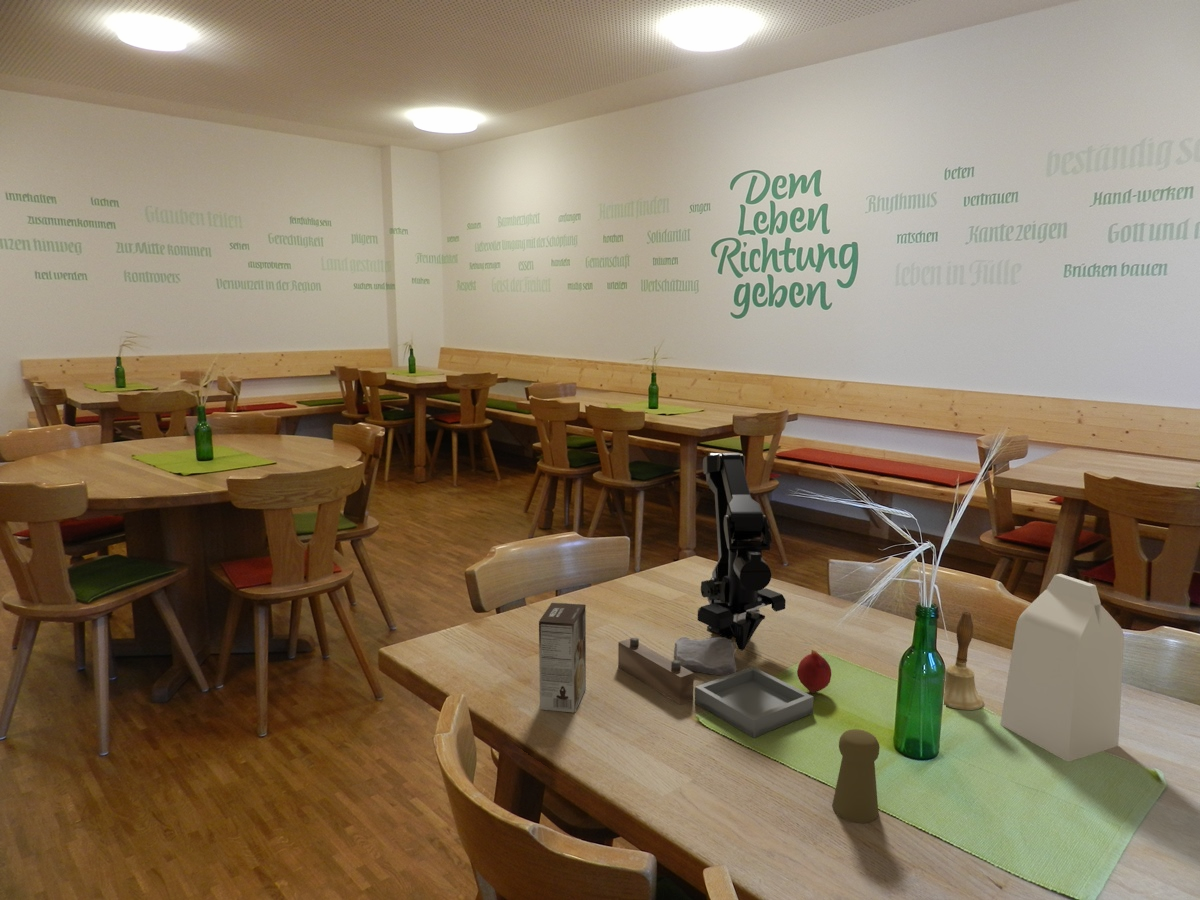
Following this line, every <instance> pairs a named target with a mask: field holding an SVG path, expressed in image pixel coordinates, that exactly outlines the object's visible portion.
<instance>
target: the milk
mask: <svg viewBox="0 0 1200 900" xmlns="http://www.w3.org/2000/svg"><path fill="white" fill-rule="evenodd" d="M1014 630H1015V631H1014V638H1013V644H1012V650H1011V654H1010V655H1011V657H1010V662H1009V667H1008V668H1009V669H1008V675H1007V681H1006V687H1005V692H1004V699H1003V705H1002V710H1001V718H1000V721H999V722H1000V726H1001V727H1004V728H1005V729H1007V730H1009V731H1011V732H1013V733H1015V734H1016V735H1018V736H1020V737H1022V738H1024V739H1025V740H1027V741H1029V742H1031V743H1033V744H1034V745H1036V746H1038V747H1040V748H1041V749H1043V750H1046V751H1047V752H1048V753H1051V754H1053V755H1055V756H1056V757H1057V758H1060V759H1062V760H1063V761H1065V762H1066V763H1067V762H1071V761H1075V760H1077V759H1078V760H1079V759H1080V758H1084V757H1088V756H1090V755H1094V754H1098V753H1100V752H1103V751H1106V750H1111V749H1113V748H1117V747H1119V743H1120V742H1119V740H1120V739H1119V738H1120V723H1121V722H1120V720H1121V703H1122V702H1121V701H1122V688H1123V687H1122V683H1123V668H1124V667H1123V666H1124V665H1123V664H1124V649H1125V648H1124V647H1125V633H1124V630H1123V629H1122V627H1121V625H1120V624H1119V623H1118V622H1117V621H1116V620H1115V618H1114V617H1113V616H1112V615H1111V614H1110V612H1108V611H1107V610H1106V609H1105V607H1104V606H1103V605H1102V602H1101V599H1100V596H1099V592H1098V588H1097V585H1096V584H1094V583H1093V584H1092V583H1090V582H1088V581H1084V580H1081V579H1077V578H1075V577H1071V576H1068V575H1065V574H1063V573H1057V574H1054V575H1053V577H1052V578H1051V581H1050V582H1049V583H1048V585H1047V586H1046V589H1044V591H1042V592H1041V593H1040V595H1038V596H1037V598H1035V599H1034V600H1033V601H1032V602H1031V603H1030V604H1029V606H1027V607H1026V608H1025V609H1024V610H1023V611H1022V613H1021V614H1020V615H1019V617H1018V619H1017V622H1016V625H1015V629H1014Z"/></svg>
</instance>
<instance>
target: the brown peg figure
mask: <svg viewBox="0 0 1200 900" xmlns="http://www.w3.org/2000/svg"><path fill="white" fill-rule="evenodd" d="M838 741H839V742H838V748H839V752H840V754H841V755H840V756H842V757H841V762H840V766H839V771H838V775H837V780H836V785H835V791H834V795H833V800H832V805H831V806H832V810H833V812H834V813H835V814H836V815H837V816H839V817H840V818H842V819H844V820H846V821H849V822H853V823H858V824H867V823H872V822H874V821H876V819H877V818H878V817H879V805H878V803H879V802H878V791H877V790H878V789H877V779H876V778H877V777H876V776H877V775H876V765H875V761H877V759H878V758H879V755H880V743H879V741H878V739H877V737H876V736H875V735H874V734H872V733H871V732H869V731H866V730H863V729H855V728H853V729H848V730H845V731H844V732H843V733H842V734H841V736H840V737H839V740H838Z"/></svg>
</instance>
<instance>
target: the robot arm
mask: <svg viewBox="0 0 1200 900" xmlns="http://www.w3.org/2000/svg"><path fill="white" fill-rule="evenodd" d="M702 472H703V473H702V474H704V475H705V479H706V480H705V481H706V485H707V486H708V487H709V489H710V490H711V491H712V493H713V494H714V502H715V519H716V520H715V521H716V522H715V523H716V535H717V551H718V561H717V562H716V564H715V566H714V568H713V570H712V573H711V577H710V579H707V580H703V581H701V583H700V594H701V597H703V598H707V601H708V604H706V605H703V606H700V607H699V608H698V609H697V621H698V622H700V623H703V624H705V625H707V626H706V629H707V630H709V631H711V632H714V633H715V634H718V635H719V636H721V637H724V638H727V639H729V638H734V640H735V644H736V647H737V650H740V651H744V650H745V649H746V647H747V646H748V644H749V642H750V640H751V639H752V637H753V635H754V633H755V632H756V630H757V629H758V627H759V625H760V624H761V623H762V621H763V620H765V618H766V616H765V615H764V614H761V610H760V608H763V607H767V606H769V605H771V609H772V610H773V611H774V612H779V611H782V610H783V611H784V610H785V609H786V603H787V601H786V598H785V596H784V595H783V594H782V593H779V592H777V591H775V590H772V589H768V588H766V587H768V585H769V584H770V582H771V580H772V571H771V569H770V567H769V565H768V564H767V562H766V561H765V560H764V559H763V553H762V551H770V550H771V548H770V547H771V545H770V544H771V543H772V541H773V539H772V535H771V528H770V524H769V521H768V519H767V516H766V515H765V514H764V513H763V510H762V508H761V507H762V506H761V504H760V503H759V502H757V501H755V500H754V499H753V498H752V496H751V493H750V488H749V484H748V480H747V477H746V456H745V455H743V453H740V452H708V455H707V456H705V457H703V460H702ZM761 538H762V540H760V539H761Z"/></svg>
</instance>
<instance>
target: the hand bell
mask: <svg viewBox="0 0 1200 900" xmlns="http://www.w3.org/2000/svg"><path fill="white" fill-rule="evenodd" d="M973 635H974V623H973V619H972V614H971V612H970V611H963V612H962V614H961V616H960V618H959V619H958V622H957V625H956V641H957V646H958V647H957V653H956V658H955V659H956V660H955V664H953V665H949V666H947V667H946V670H945V674H946V681H945V693H944V704H943V706H946V707H948V708H951V709H952V708H953V709H956V710H962V711H964V710H965V711H975V710H980V709H981V708H983V707H984V704H985V701H984V700H983V699H984V698H983V697H982V696H981V695H980V694H979V693H978V690H977V687H976V682H975V681H976V680H975V672H974V671H973V670H972V669H971V668H969V667H968V666H967V662H968V649H969V646H970V644H971V642H972V639H973Z"/></svg>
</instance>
